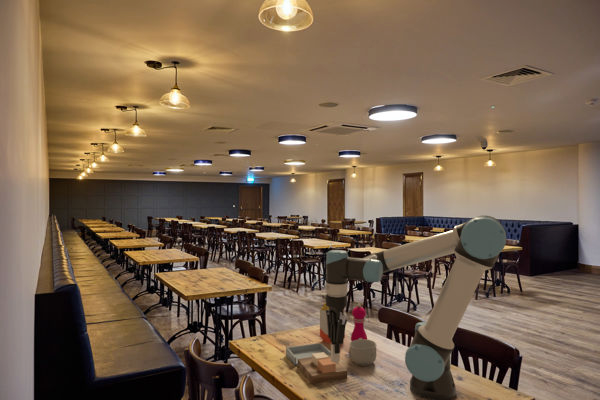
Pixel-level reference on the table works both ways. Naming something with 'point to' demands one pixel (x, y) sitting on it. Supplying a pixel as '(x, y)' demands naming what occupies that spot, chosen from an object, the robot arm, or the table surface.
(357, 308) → the pepper mill
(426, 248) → the robot arm
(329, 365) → the orange square block
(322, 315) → the french fries container
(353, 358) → the teacup
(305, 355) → the tray
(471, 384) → the table surface
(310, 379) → the walnut board
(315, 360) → the cream square block
